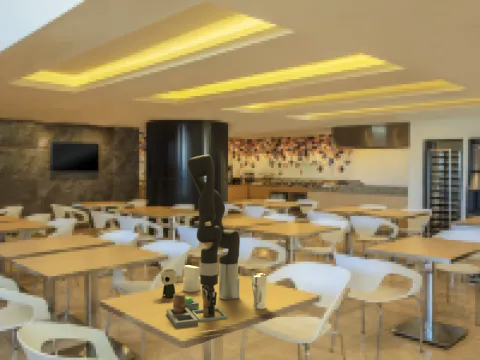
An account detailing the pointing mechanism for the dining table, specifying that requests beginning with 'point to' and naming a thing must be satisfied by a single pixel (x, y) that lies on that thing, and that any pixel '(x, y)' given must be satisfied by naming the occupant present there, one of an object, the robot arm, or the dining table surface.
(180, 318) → the grey shallow tray
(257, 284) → the beer glass
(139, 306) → the dining table surface
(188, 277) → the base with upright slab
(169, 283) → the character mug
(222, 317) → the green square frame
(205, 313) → the cylinder
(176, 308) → the cylinder
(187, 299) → the button
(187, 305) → the console
